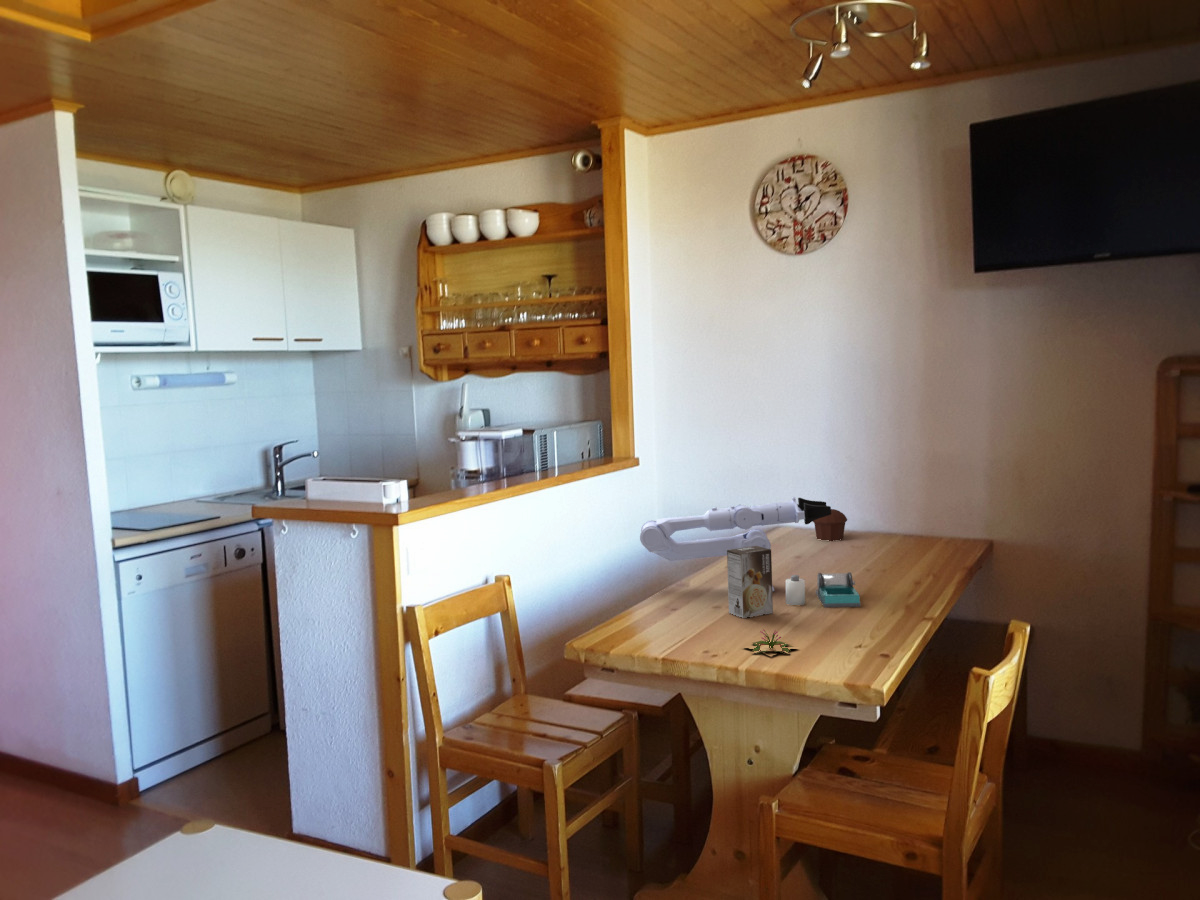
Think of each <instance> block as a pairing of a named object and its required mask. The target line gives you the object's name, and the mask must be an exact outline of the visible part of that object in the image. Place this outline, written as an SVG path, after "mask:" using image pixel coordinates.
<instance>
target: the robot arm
mask: <svg viewBox="0 0 1200 900" xmlns="http://www.w3.org/2000/svg"><path fill="white" fill-rule="evenodd" d="M791 499H792V500H790V501H781V502H771V503H762V504H758V505H756V504H755V505H750V506H748V505H745V504H738V505H736V506H735V505H730V507H727V508H725V507H723V508H717V506H713V507H712V506H711V509H708V510H707V511H706V512H705V513H704V514H702V515H700V514H699V515H689V516H687V515H686V516H675V517H674V516H672V517H663V518H661V517H660V518H657V519H656V520H652V519H651V520H648V521H646V522H644V523H643V525H642V526H641V530H640V534H639V541H640V543H641V545H642V546H643V547H644V548H645V549H646V550H647V551H648V552H649V553H652V554H654V555H657V556H659V557H662V558H663V559H665V560H667V561H673V562H676V561H685V560H693V559H695V560H696V559H703V558H714V557H722V556H723V557H724V556H727V550H731V549H738V548H744V547H751V546H759V547H763V548H767V549H771V546H772V545H771V542H770V540H769V538H768V536H767V534H766V532H765V531H764V530H762V529H760V528H753V529H751V528H752V527H756V526H757V527H758V526H761V527H762V526H771V525H772V526H773V525H784V524H792V523H795V524H799V522H800V521H802V520H804V522H803V523H804V525H809V524H811V523H813V521H814V520H816V519H819V518H822V517H825V516H828V515H831V509H832V508H831V507H832V506H829V505H827V502H826V501H821V500H809V499H805V498H802V497H798V498H796V497H795V496H792V497H791ZM796 499H797V500H796ZM700 528H706V529H707V530H708V531H710V532H712V531H713V532H714V531H722V530H723V531H724V530H734V529H735V528H740V529H742V530H745V531H746V530H747V532H745V533H739V534H736V535H733V536H724V537H714V538H704V539H703V538H702V539H696V540H693V539H692V540H685V541H675V539H673V538H672V537H671V536H672V535H674V534H675V533H676V532H679V531H686V530H692V529H700ZM749 529H750V530H749ZM772 592H775V588H774V586H773V584H772Z"/></svg>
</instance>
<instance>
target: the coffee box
mask: <svg viewBox="0 0 1200 900" xmlns="http://www.w3.org/2000/svg"><path fill="white" fill-rule="evenodd" d="M726 558H727V562H726V563H727V565H726V566H727V591H728V592H727V593H728V614H730V613H731V614H730V615H732V614H733V615H732V616H735V615H736V617H738V616H739V617H738V618H740V617H742V618H741V619H743V618H745V619H748V618H747V617H750V618H753V616H755V617H759V616H758V615H760V616H763V614H765V615H769V614H773V613H774V604H773V603H774V600H773V596H774V595H773V591H772V585H773V568H772V565H773V562H772V561H773V560H772V549H771V548H770V549H767V548H763V547H759V546H751V547H744V548H738V549H731V550H727V555H726Z"/></svg>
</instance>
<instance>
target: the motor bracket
mask: <svg viewBox="0 0 1200 900" xmlns="http://www.w3.org/2000/svg"><path fill="white" fill-rule="evenodd" d="M816 583H817V584H816V585H817V589H815V595H816V597H817V596H818V597H817V599H818V600H819V601H821V602H820V603H821V605H822V604H823V605H822V607H823V606H824V607H823V608H861V607H862V604H861V600H860V598H861V597H860V594H859V592H858V591H857V590H856V589H855V587H854V586H855V585H856V580H853V575H852V572H850V571H849V572H844V573H843V572H842V573H841V572H838V573H837V572H835V573H833V572H832V573H831V572H830V573H822V572H818V573H817V582H816Z"/></svg>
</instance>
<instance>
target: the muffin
mask: <svg viewBox="0 0 1200 900" xmlns="http://www.w3.org/2000/svg"><path fill="white" fill-rule="evenodd" d="M847 521H848V518H847V516H846V515H845V514H844V513H843V512H842V511H840V510H838V509H833V508H831V515H828V516H825V517H822V518H819V519H816V520H814V521H812V523H813V524H814V531H815V537H817V538H816V540H817V539H821V540H829V541H828V542H830V541H831V542H834V541H833V540H840V539H843V540H844V535H845V534H844V533H845V527H846V522H847ZM821 540H820V541H821ZM840 541H841V540H840Z"/></svg>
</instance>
